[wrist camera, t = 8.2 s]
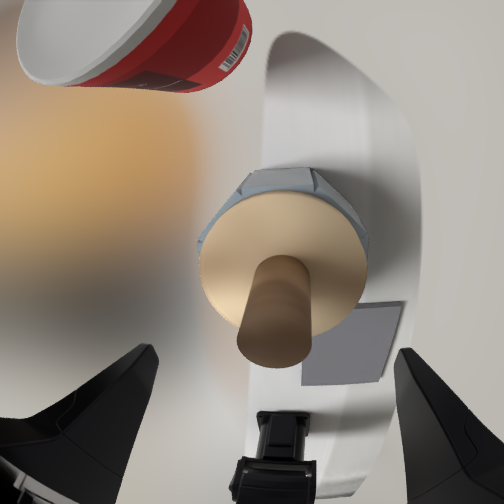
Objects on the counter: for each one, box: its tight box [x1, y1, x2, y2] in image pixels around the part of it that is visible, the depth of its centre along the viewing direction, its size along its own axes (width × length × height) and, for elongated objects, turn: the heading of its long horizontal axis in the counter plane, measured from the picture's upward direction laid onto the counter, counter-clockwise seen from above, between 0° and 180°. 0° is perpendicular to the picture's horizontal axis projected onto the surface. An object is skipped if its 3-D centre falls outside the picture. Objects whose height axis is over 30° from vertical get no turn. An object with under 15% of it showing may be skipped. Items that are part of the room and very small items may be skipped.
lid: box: [199, 190, 367, 368], centre depth 12 cm, size 9×9×6 cm
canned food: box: [17, 0, 252, 93], centre depth 8 cm, size 8×8×11 cm
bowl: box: [197, 168, 369, 262], centre depth 17 cm, size 9×9×4 cm
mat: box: [301, 302, 402, 386], centre depth 22 cm, size 10×8×1 cm
